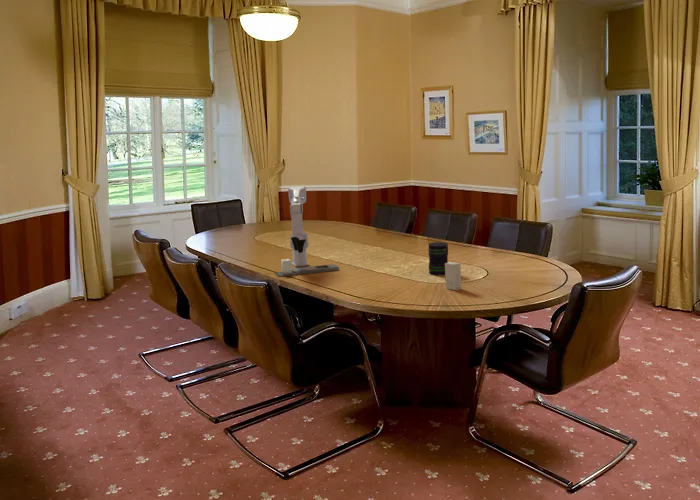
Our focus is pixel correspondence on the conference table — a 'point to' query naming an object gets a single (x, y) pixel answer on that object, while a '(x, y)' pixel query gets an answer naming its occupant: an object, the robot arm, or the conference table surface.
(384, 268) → the conference table surface
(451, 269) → the skincare box
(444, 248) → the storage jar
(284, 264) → the pale grey square block
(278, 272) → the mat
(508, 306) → the conference table surface
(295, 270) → the rail
